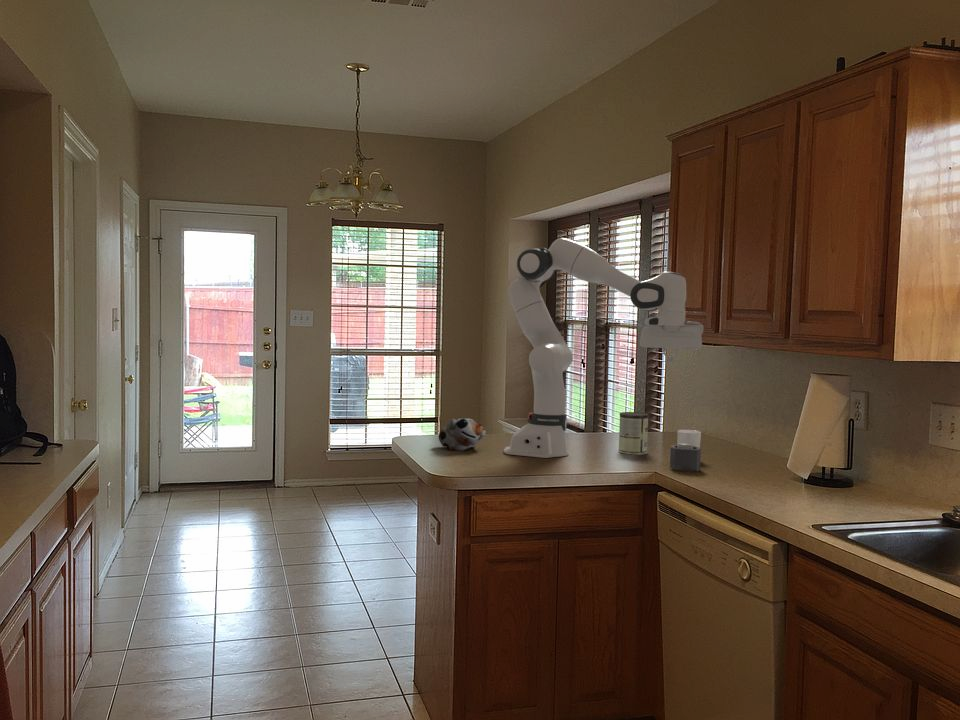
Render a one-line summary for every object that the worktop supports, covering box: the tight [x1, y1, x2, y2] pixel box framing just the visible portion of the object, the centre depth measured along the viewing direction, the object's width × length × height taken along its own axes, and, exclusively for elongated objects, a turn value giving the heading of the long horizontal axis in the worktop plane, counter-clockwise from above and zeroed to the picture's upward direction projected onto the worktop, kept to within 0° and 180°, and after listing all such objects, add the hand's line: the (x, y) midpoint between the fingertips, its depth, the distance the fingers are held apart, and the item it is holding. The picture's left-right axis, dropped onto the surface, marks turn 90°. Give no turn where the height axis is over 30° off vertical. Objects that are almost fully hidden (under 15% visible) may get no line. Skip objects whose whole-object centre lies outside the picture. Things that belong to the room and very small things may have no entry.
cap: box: [676, 442, 693, 449], centre depth 272 cm, size 5×5×4 cm
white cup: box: [677, 429, 702, 448], centre depth 290 cm, size 8×8×10 cm
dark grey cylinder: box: [669, 444, 702, 472], centre depth 273 cm, size 9×9×7 cm
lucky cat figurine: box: [438, 417, 488, 452], centre depth 297 cm, size 15×12×14 cm
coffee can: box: [618, 411, 650, 456], centre depth 302 cm, size 10×10×14 cm
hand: (669, 362), depth 280 cm, fingers closed
